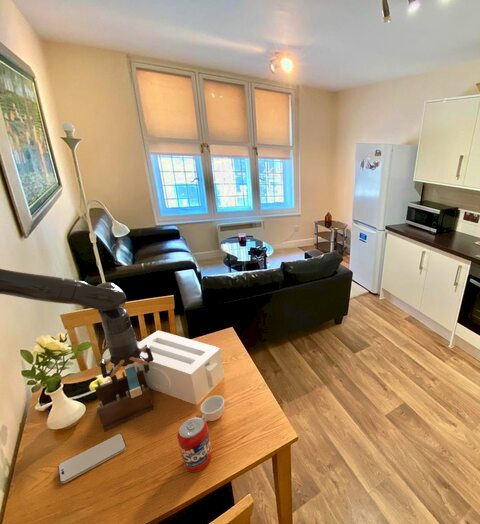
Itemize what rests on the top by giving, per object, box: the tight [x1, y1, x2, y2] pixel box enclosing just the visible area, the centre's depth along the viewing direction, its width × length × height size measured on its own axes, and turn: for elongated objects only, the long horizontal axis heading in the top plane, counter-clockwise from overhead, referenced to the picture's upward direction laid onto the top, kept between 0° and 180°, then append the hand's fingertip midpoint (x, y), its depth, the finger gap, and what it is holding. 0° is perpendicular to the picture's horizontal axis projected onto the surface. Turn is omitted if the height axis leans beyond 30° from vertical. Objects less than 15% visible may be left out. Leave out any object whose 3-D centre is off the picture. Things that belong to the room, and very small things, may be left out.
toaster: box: [126, 329, 225, 406], centre depth 114 cm, size 35×16×15 cm, turn 73°
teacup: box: [200, 394, 226, 422], centre depth 102 cm, size 10×8×5 cm
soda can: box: [177, 416, 213, 473], centre depth 86 cm, size 8×8×15 cm
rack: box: [94, 367, 155, 433], centre depth 102 cm, size 14×14×11 cm
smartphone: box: [57, 433, 127, 484], centre depth 87 cm, size 7×1×15 cm
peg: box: [124, 365, 142, 398], centre depth 102 cm, size 3×14×3 cm, turn 42°
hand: (131, 377), depth 102 cm, fingers open, 8 cm apart
